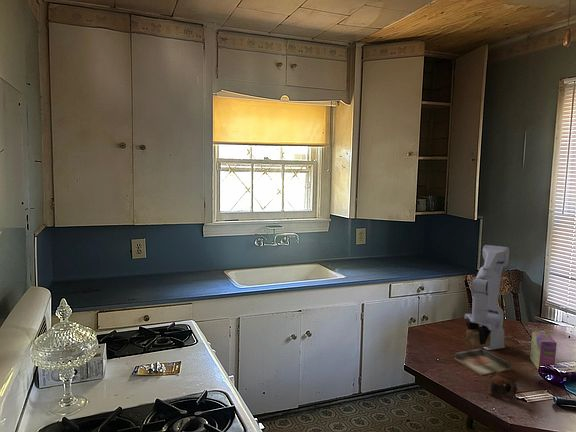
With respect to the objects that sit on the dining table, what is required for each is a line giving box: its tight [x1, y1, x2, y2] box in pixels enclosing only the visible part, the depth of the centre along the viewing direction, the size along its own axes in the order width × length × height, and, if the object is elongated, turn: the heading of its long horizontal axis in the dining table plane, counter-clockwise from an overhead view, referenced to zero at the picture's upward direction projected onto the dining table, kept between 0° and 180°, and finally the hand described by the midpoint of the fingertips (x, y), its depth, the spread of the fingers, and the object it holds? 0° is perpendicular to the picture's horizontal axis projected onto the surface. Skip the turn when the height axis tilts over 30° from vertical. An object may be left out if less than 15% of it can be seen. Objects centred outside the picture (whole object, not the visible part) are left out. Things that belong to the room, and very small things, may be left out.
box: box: [529, 331, 558, 370], centre depth 178 cm, size 10×6×12 cm, turn 168°
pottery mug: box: [487, 372, 518, 400], centre depth 156 cm, size 12×10×8 cm
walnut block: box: [465, 329, 491, 350], centre depth 181 cm, size 4×8×6 cm, turn 109°
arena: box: [453, 348, 511, 376], centre depth 180 cm, size 14×15×3 cm
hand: (478, 341), depth 181 cm, fingers closed on walnut block, 4 cm apart
